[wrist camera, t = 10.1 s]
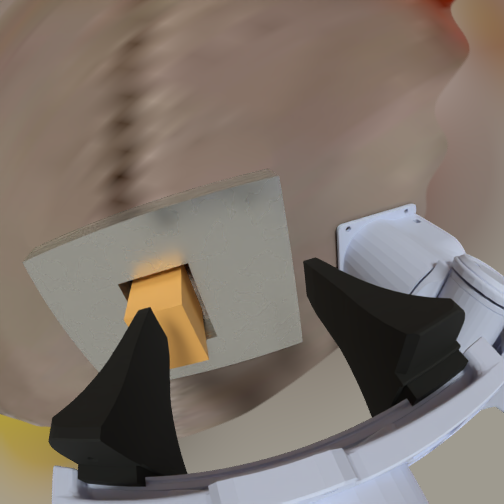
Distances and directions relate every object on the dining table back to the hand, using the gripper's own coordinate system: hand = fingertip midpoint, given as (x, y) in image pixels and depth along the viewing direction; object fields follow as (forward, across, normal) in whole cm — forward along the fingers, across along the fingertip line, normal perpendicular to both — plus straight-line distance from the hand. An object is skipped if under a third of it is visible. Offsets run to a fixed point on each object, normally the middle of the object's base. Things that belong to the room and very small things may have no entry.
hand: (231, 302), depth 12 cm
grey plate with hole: (+9, +5, +5) cm, 12 cm away
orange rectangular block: (+10, +5, +5) cm, 12 cm away
